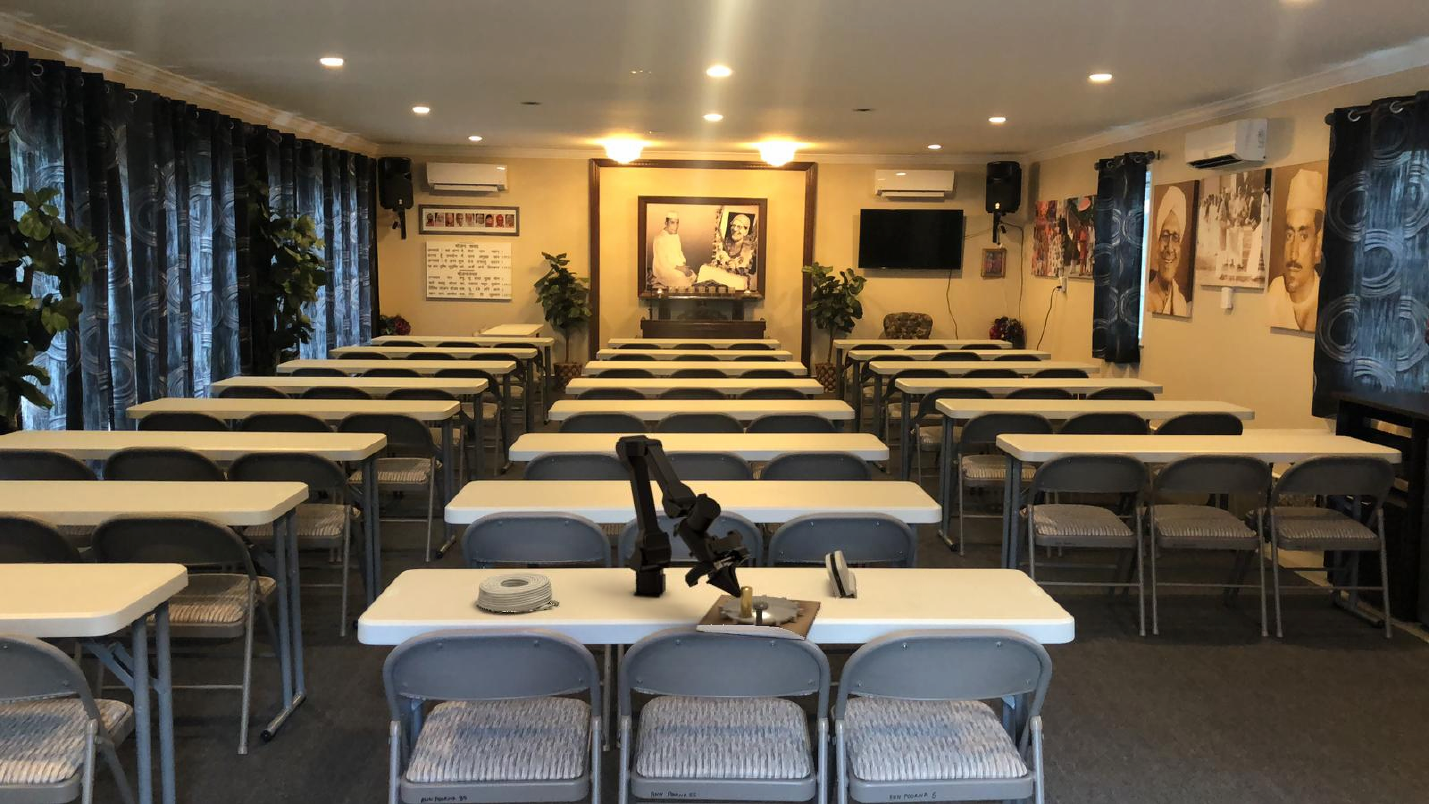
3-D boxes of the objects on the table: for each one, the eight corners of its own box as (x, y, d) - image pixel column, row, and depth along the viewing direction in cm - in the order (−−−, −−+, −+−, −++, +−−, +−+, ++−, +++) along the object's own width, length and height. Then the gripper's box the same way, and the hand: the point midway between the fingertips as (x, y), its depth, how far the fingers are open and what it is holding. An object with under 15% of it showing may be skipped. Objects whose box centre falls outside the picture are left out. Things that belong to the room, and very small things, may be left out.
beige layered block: (857, 598, 256) (843, 560, 255) (838, 604, 257) (824, 566, 256) (855, 578, 272) (843, 542, 272) (838, 584, 273) (825, 548, 272)
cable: (563, 608, 250) (563, 583, 249) (491, 621, 241) (490, 595, 241) (536, 589, 265) (536, 565, 264) (467, 600, 256) (467, 576, 255)
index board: (695, 631, 233) (695, 604, 233) (721, 598, 256) (721, 573, 256) (804, 640, 228) (804, 612, 227) (820, 605, 251) (820, 580, 250)
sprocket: (712, 624, 234) (712, 590, 233) (724, 597, 253) (724, 566, 252) (799, 628, 231) (800, 594, 230) (805, 601, 250) (805, 569, 249)
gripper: (695, 528, 229) (738, 586, 224) (743, 511, 244) (784, 566, 239) (666, 558, 234) (708, 615, 230) (714, 540, 250) (754, 594, 245)
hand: (740, 596), depth 236 cm, fingers closed, pressing on sprocket
